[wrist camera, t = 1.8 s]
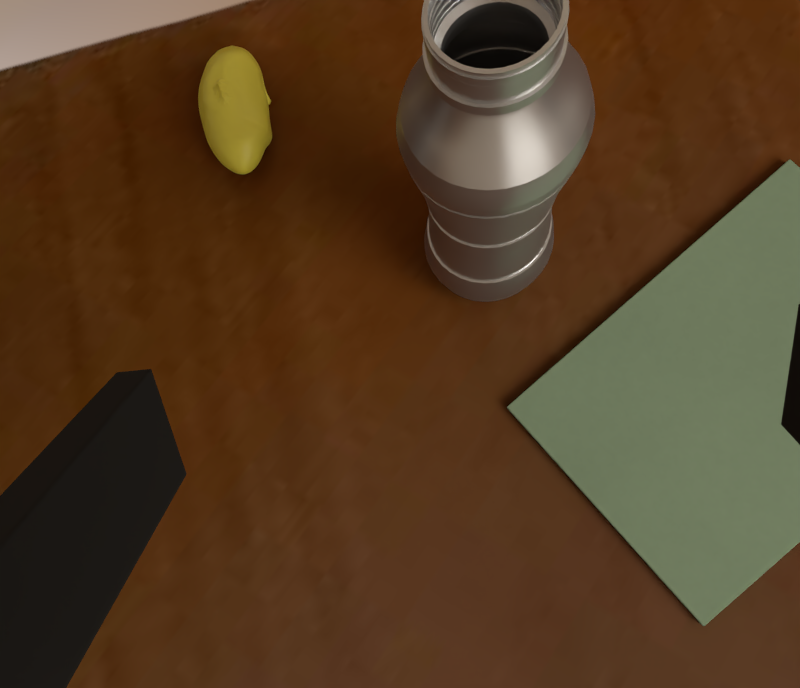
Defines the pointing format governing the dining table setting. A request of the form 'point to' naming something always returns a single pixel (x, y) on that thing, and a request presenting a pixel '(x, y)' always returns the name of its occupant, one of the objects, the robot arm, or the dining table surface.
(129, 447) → the robot arm
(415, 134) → the silver metal bottle
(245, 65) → the yellow potato
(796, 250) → the placemat
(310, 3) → the dining table surface
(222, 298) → the dining table surface
